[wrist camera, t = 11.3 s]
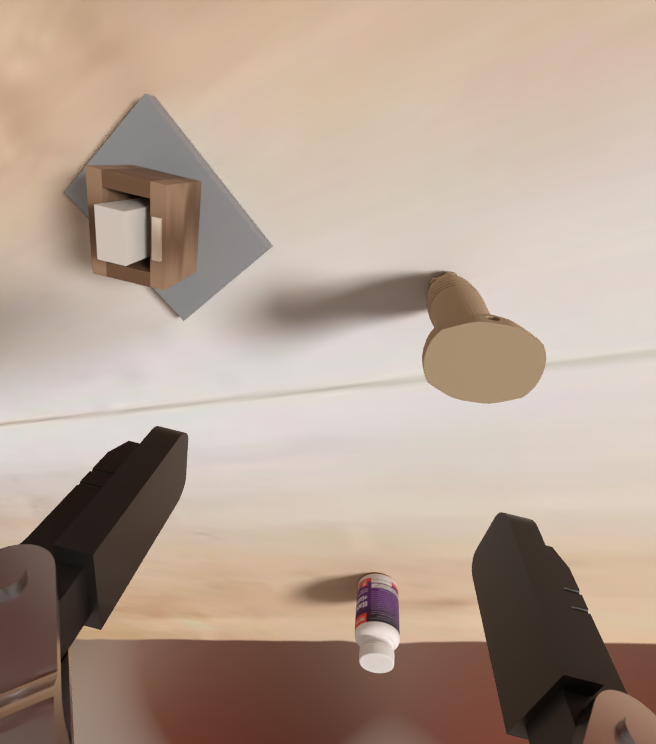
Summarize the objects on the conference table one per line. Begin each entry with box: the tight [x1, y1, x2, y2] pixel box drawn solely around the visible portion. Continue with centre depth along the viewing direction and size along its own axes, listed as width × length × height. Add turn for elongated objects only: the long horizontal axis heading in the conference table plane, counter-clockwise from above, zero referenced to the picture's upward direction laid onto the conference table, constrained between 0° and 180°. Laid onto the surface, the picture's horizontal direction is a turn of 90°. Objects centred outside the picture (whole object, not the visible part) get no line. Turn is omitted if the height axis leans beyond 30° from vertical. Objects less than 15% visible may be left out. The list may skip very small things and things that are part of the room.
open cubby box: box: [85, 165, 202, 290], centre depth 31 cm, size 7×6×6 cm
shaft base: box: [64, 94, 272, 321], centre depth 31 cm, size 11×14×10 cm
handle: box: [422, 272, 546, 404], centre depth 29 cm, size 5×6×15 cm
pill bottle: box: [355, 574, 400, 673], centre depth 50 cm, size 5×5×10 cm
